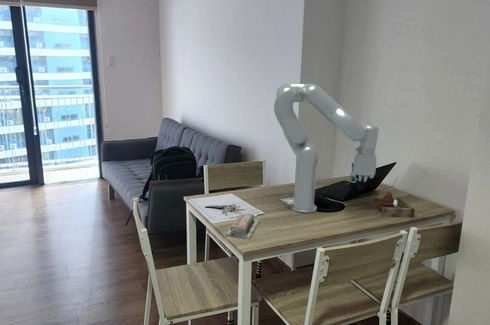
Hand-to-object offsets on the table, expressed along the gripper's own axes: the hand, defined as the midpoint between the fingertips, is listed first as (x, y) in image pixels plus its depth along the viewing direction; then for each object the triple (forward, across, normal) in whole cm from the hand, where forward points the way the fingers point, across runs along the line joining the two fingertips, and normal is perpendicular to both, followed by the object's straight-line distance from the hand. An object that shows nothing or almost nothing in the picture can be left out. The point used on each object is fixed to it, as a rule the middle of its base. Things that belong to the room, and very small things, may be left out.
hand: (360, 188), depth 194 cm
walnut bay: (+10, +16, 0) cm, 19 cm away
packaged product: (+15, -54, -28) cm, 63 cm away
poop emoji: (+10, +15, 0) cm, 18 cm away
